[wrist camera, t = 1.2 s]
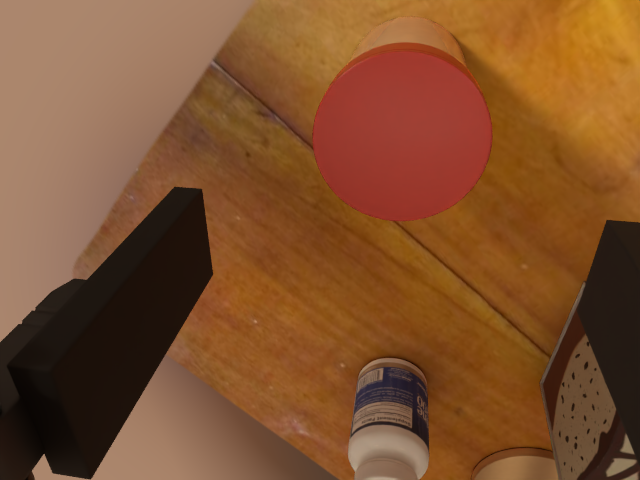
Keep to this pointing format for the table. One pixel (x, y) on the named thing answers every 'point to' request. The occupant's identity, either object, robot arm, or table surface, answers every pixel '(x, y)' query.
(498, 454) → the coaster
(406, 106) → the jar lid
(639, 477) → the food container
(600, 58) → the table surface
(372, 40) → the jar
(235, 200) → the table surface
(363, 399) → the pill bottle
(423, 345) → the table surface
